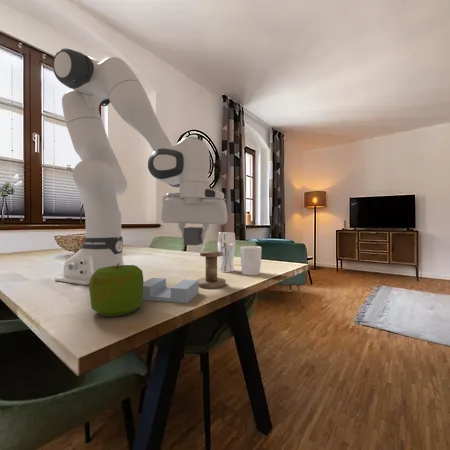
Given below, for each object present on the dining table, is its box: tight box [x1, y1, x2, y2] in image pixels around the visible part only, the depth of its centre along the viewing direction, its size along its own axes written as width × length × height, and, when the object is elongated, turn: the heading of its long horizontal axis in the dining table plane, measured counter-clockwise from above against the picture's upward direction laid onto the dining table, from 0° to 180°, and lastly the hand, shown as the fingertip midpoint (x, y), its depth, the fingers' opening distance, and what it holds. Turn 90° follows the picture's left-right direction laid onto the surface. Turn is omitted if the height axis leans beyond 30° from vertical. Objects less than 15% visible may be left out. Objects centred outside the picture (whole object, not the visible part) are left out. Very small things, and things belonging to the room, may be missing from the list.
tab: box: [183, 226, 204, 246], centre depth 79 cm, size 4×6×5 cm, turn 167°
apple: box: [88, 263, 144, 318], centre depth 58 cm, size 11×11×11 cm
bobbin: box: [197, 250, 227, 290], centre depth 81 cm, size 9×9×10 cm
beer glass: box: [217, 231, 236, 273], centre depth 103 cm, size 7×7×15 cm
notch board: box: [142, 277, 200, 304], centre depth 69 cm, size 14×9×4 cm, turn 77°
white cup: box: [239, 245, 262, 276], centre depth 98 cm, size 8×8×10 cm
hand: (193, 238), depth 79 cm, fingers closed on tab, 4 cm apart
